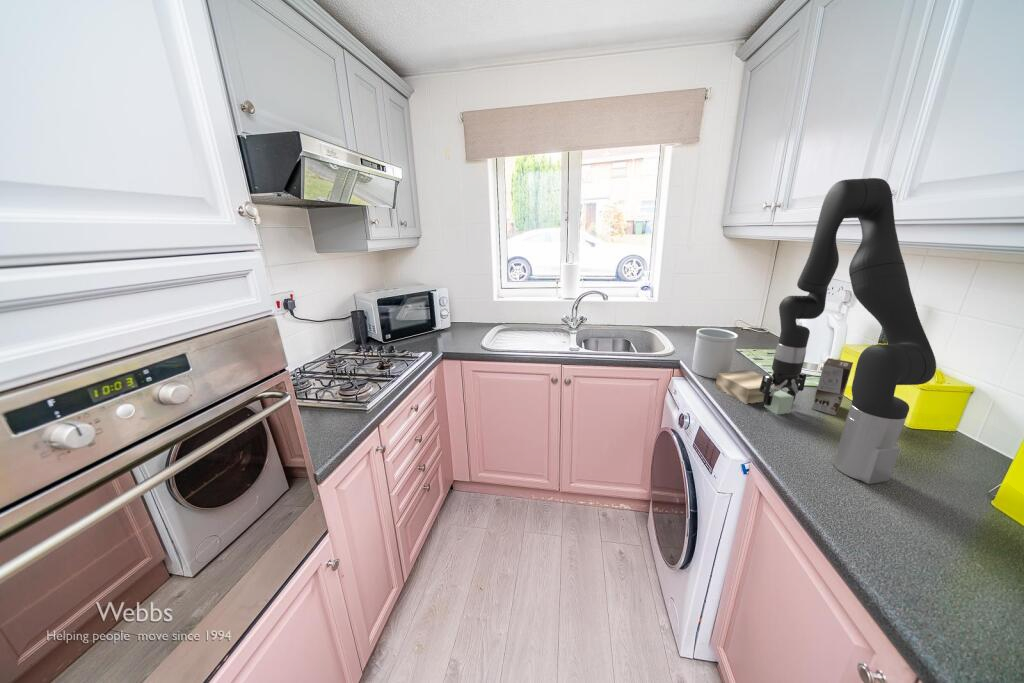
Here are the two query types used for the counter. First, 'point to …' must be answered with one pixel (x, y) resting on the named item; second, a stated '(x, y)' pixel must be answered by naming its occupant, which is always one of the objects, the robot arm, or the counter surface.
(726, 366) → the utensil holder
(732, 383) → the birch block
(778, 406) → the sage block
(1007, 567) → the counter surface
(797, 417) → the counter surface
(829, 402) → the coffee box
